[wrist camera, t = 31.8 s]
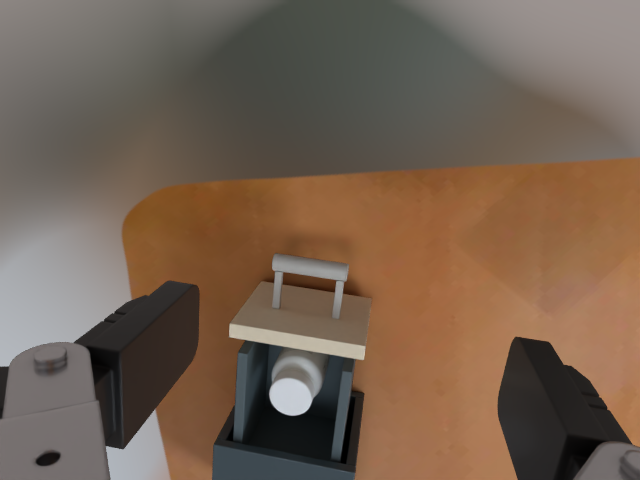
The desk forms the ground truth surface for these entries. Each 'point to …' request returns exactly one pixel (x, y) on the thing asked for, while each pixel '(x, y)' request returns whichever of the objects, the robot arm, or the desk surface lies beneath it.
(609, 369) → the desk surface
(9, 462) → the robot arm
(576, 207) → the desk surface
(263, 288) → the drawer
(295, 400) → the pill bottle
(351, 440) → the cabinet
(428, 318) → the desk surface
